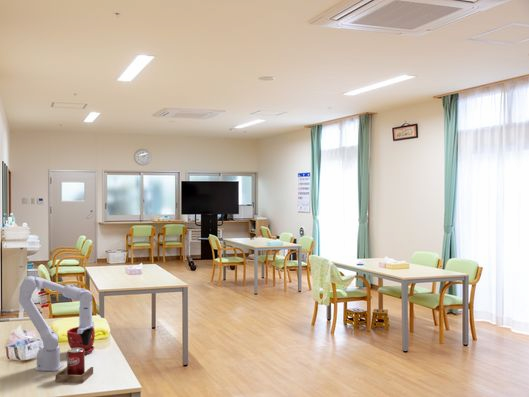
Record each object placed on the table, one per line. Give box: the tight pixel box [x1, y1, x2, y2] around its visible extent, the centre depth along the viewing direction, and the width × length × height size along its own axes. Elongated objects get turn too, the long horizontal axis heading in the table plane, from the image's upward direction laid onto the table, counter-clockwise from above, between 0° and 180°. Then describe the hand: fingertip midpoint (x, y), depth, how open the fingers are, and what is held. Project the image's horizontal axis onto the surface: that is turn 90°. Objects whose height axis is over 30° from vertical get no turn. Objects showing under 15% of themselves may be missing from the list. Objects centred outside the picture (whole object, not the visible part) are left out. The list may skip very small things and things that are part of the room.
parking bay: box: [55, 366, 94, 384], centre depth 242 cm, size 12×12×3 cm
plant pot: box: [66, 326, 96, 355], centre depth 278 cm, size 13×13×12 cm
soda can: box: [66, 348, 86, 375], centre depth 243 cm, size 7×7×12 cm
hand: (86, 344), depth 259 cm, fingers closed
